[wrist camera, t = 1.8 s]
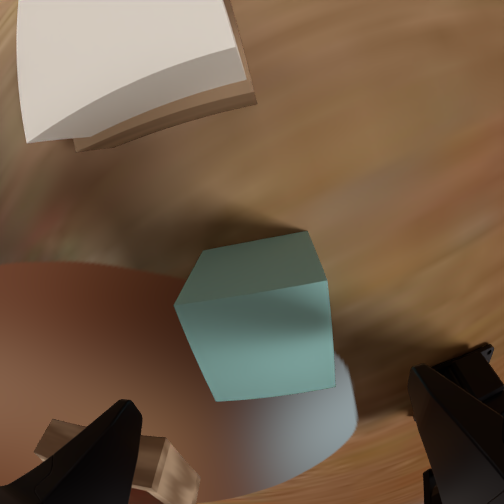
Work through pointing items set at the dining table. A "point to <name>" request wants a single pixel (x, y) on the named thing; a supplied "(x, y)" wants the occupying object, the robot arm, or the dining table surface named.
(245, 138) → the dining table surface
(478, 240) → the dining table surface
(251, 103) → the walnut block
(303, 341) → the teal cube
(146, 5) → the cream block
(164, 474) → the bracket cradle
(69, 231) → the dining table surface
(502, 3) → the dining table surface
